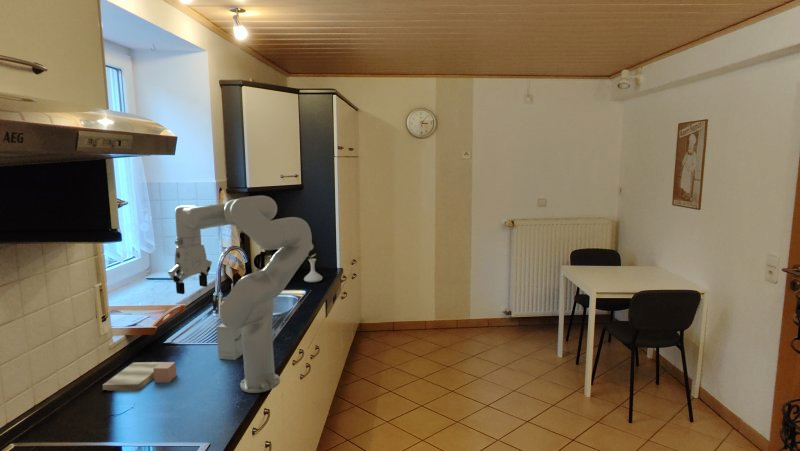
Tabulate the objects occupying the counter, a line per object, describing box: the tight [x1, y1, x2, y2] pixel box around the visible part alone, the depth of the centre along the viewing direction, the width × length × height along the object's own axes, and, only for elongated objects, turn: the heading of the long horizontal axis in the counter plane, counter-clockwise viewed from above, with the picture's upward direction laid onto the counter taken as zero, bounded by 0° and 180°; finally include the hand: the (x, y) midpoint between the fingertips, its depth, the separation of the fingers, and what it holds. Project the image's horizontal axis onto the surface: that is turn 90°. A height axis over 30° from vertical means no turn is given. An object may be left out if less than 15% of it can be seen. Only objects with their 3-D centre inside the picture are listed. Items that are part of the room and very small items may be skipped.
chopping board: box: [102, 361, 162, 391], centre depth 161 cm, size 17×12×2 cm
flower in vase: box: [303, 242, 323, 283], centre depth 286 cm, size 13×11×25 cm
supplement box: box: [215, 323, 243, 361], centre depth 177 cm, size 7×7×13 cm
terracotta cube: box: [153, 361, 177, 383], centre depth 159 cm, size 5×5×5 cm
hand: (192, 289), depth 162 cm, fingers open, 9 cm apart
